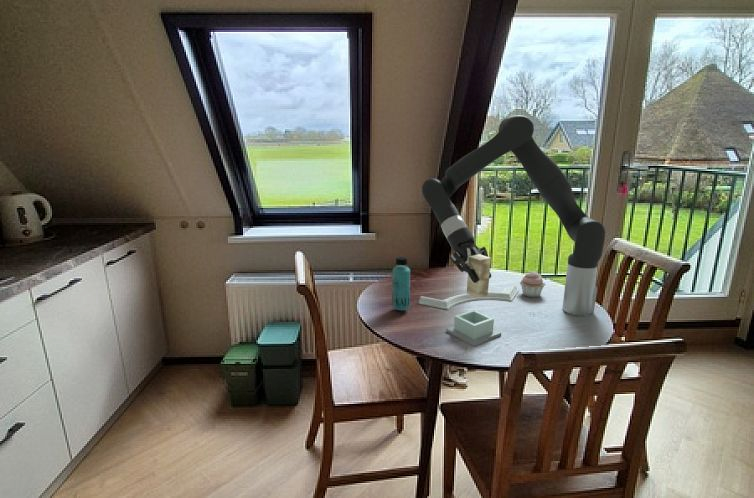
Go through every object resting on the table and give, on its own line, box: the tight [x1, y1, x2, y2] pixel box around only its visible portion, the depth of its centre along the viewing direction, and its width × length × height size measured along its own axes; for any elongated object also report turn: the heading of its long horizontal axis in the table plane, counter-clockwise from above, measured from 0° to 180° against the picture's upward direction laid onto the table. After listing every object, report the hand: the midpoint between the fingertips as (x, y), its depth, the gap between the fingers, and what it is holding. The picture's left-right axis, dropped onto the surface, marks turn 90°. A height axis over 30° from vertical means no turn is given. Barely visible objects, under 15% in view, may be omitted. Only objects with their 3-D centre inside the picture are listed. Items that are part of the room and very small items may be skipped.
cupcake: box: [519, 269, 546, 298], centre depth 159 cm, size 9×9×10 cm
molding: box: [418, 284, 520, 310], centre depth 157 cm, size 42×12×3 cm, turn 105°
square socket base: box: [445, 309, 502, 347], centre depth 130 cm, size 12×12×6 cm
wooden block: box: [466, 254, 492, 298], centre depth 125 cm, size 4×4×12 cm
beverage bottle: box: [391, 256, 411, 311], centre depth 145 cm, size 6×7×20 cm
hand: (483, 279), depth 124 cm, fingers closed on wooden block, 4 cm apart
